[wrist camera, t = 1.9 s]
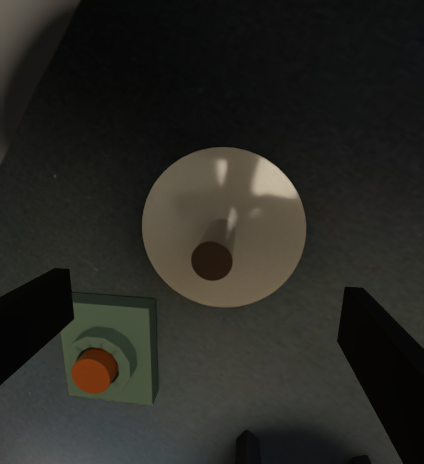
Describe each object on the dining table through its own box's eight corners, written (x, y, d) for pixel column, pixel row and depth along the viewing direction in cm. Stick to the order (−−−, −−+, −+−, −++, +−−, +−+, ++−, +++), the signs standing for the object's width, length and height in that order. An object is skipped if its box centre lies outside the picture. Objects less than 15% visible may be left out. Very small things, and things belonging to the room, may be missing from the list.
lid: (143, 146, 26) (90, 136, 17) (312, 149, 24) (351, 139, 15) (148, 296, 30) (107, 352, 21) (295, 307, 28) (319, 373, 19)
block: (69, 292, 31) (44, 310, 27) (155, 298, 30) (142, 318, 26) (79, 381, 34) (58, 409, 30) (158, 390, 33) (147, 420, 29)
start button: (79, 345, 28) (68, 357, 26) (116, 349, 27) (108, 361, 26) (82, 378, 29) (73, 391, 27) (119, 382, 28) (111, 396, 27)
